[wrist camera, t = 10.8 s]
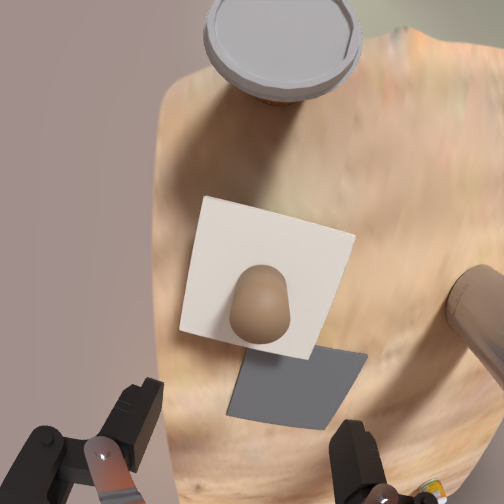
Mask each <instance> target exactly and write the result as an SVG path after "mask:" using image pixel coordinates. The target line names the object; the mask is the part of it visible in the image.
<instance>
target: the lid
mask: <svg viewBox="0 0 504 504" xmlns="http://www.w3.org/2000/svg"><path fill="white" fill-rule="evenodd" d="M355 238H356V237H355V236H354V235H353V234H350V233H347V232H344V231H340V230H337V229H333V228H330V227H326V226H322V225H319V224H315V223H312V222H308V221H304V220H301V219H297V218H293V217H290V216H286V215H282V214H278V213H274V212H271V211H267V210H263V209H259V208H255V207H251V206H247V205H243V204H239V203H235V202H231V201H227V200H223V199H219V198H214V197H210V196H204V198H203V202H202V207H201V212H200V216H199V221H198V226H197V231H196V236H195V241H194V246H193V251H192V257H191V262H190V268H189V273H188V279H187V284H186V290H185V296H184V302H183V308H182V314H181V321H180V327H179V330H181V331H185V332H188V333H192V334H196V335H199V336H203V337H207V338H211V339H215V340H219V341H223V342H227V343H231V344H235V345H239V346H243V347H248V348H252V349H256V350H261V351H266V352H270V353H275V354H280V355H285V356H290V357H295V358H300V359H306V360H308V359H309V357H310V355H311V352H312V350H313V348H314V345H315V343H316V341H317V338H318V336H319V334H320V331H321V329H322V326H323V324H324V322H325V319H326V317H327V314H328V312H329V309H330V307H331V304H332V301H333V299H334V296H335V294H336V291H337V288H338V286H339V283H340V280H341V278H342V275H343V272H344V269H345V267H346V264H347V261H348V258H349V255H350V252H351V250H352V247H353V244H354V241H355Z"/></svg>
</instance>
